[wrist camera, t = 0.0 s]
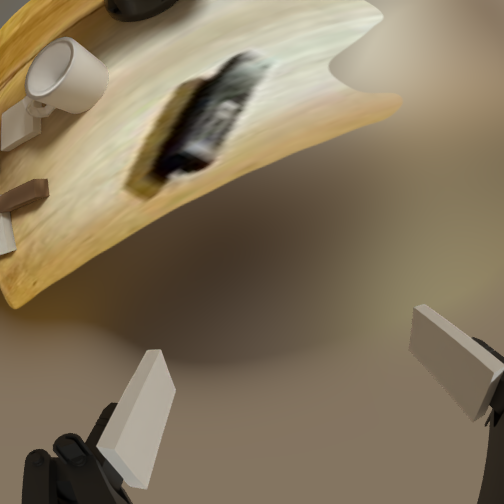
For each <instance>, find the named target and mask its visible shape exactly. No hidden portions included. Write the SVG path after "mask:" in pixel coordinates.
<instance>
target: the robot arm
mask: <svg viewBox="0 0 504 504" xmlns="http://www.w3.org/2000/svg"><path fill="white" fill-rule="evenodd" d="M104 1H105V7H106V9H107V11H108V12H109V13H110V15H111V16H112V17H113V18H115V19H116V20H119V21H124V22H132V21H139V20H143V19H146V18H149V17H152V16H154V15H157V14H159V13H161V12H163V11H164V10H166V9H168V8H169V7H171V6H172V5H173V4H175V3H176V2H177V1H178V0H104ZM409 351H410V352H411V353H412V354H413V355H414V356H415V357H416V358H417V359H418V361H419V362H420V363H421V364H422V365H423V366H424V367H425V368H426V369H427V370H428V371H429V372H430V374H431V375H432V376H433V377H434V378H435V379H436V380H437V381H438V382H439V384H440V385H441V386H442V387H443V388H444V389H445V391H446V392H447V393H448V394H449V395H450V396H451V397H452V399H453V400H454V401H455V402H456V403H457V404H458V406H459V407H460V408H461V409H462V410H463V411H464V413H465V414H466V415H467V416H468V417H469V418H470V420H471V421H472V422H474V421H476V420H477V419H479V418H480V417H482V416H483V415H485V413H486V411H487V409H488V406H489V405H490V406H491V407H492V408H493V409H492V411H491V413H490V415H489V417H488V419H487V421H486V423H485V426H487V424H488V422H489V421H490V430H489V441H488V450H487V458H486V464H485V470H484V476H483V481H482V486H481V490H480V494H479V498H478V502H477V504H504V357H503V356H501V355H500V354H499V353H497V352H496V351H494V349H492V348H491V347H489V346H488V345H487V344H486V343H485V342H483V341H482V340H480V339H477V338H474V337H472V338H470V337H469V336H468V335H466V334H465V333H464V332H462V331H461V330H460V329H458V328H457V327H456V326H454V325H453V324H451V323H450V322H449V321H448V320H446V319H445V318H444V317H442V316H441V315H439V314H438V313H437V312H435V311H434V310H433V309H431V308H430V307H428V306H427V305H426V304H422V305H419V306H415V307H414V308H413V319H412V328H411V337H410V344H409ZM175 392H176V390H175V387H174V385H173V382H172V379H171V377H170V374H169V371H168V368H167V366H166V363H165V360H164V357H163V355H162V351H161V349H159V350H147V351H146V354H145V355H144V357H143V359H142V360H141V362H140V364H139V366H138V368H137V369H136V371H135V373H134V375H133V377H132V378H131V380H130V382H129V384H128V386H127V388H126V390H125V391H124V393H123V395H122V397H121V399H120V401H119V403H110V404H109V405H108V406H107V407H106V408H105V409H104V410H103V411H102V414H101V415H100V417H99V419H98V420H97V422H96V425H95V426H94V428H93V429H92V432H91V433H90V435H89V437H88V439H87V441H86V442H85V443H84V442H83V440H82V439H81V437H80V436H78V435H77V434H73V433H68V434H64V435H62V436H60V437H59V438H58V439H57V440H56V441H55V443H54V444H53V451H54V452H55V453H56V454H57V456H58V457H57V458H55V457H51V456H50V455H49V454H48V452H47V451H45V450H43V449H36V450H33V451H32V452H30V453H29V454H28V455H27V457H26V460H25V467H24V476H23V489H22V504H133V503H132V502H131V500H130V498H129V497H128V495H127V493H126V492H125V490H124V489H123V488H122V487H121V484H122V482H123V480H124V481H125V482H126V483H127V484H128V485H129V486H130V487H136V488H143V489H147V487H148V483H149V480H150V476H151V472H152V469H153V465H154V462H155V458H156V455H157V451H158V448H159V445H160V441H161V438H162V434H163V431H164V428H165V424H166V421H167V418H168V414H169V411H170V408H171V405H172V401H173V398H174V395H175Z"/></svg>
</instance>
